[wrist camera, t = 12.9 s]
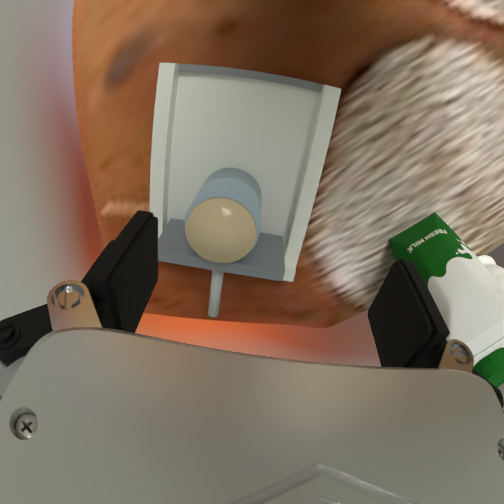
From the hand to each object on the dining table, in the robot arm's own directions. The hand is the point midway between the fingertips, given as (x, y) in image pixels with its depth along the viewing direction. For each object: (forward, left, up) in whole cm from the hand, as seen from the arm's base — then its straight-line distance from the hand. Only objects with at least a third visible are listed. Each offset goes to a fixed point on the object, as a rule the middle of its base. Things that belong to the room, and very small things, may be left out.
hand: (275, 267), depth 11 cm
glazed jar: (+6, -3, -20) cm, 21 cm away
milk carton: (+8, +21, -21) cm, 30 cm away
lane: (+3, -3, -21) cm, 21 cm away
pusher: (+14, -3, -20) cm, 24 cm away
